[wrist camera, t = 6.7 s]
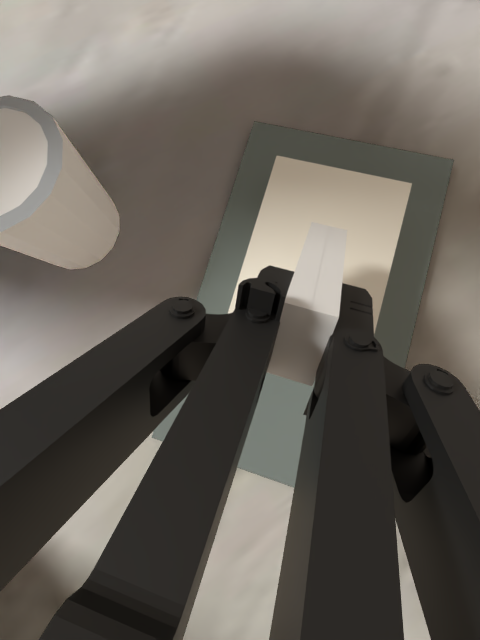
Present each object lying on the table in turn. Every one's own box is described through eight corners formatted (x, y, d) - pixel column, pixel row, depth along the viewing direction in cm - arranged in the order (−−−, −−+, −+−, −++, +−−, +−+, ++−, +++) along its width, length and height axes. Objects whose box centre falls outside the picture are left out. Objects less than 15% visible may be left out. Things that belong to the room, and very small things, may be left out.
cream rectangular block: (363, 377, 16) (411, 183, 17) (220, 335, 17) (276, 155, 18) (351, 377, 18) (394, 208, 20) (227, 341, 19) (276, 182, 21)
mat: (367, 510, 18) (370, 514, 17) (154, 436, 19) (151, 437, 19) (449, 165, 20) (453, 159, 20) (254, 127, 22) (254, 121, 21)
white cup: (118, 166, 23) (48, 74, 16) (139, 261, 21) (74, 206, 14) (22, 197, 23) (-87, 120, 16) (37, 292, 22) (-74, 253, 15)
